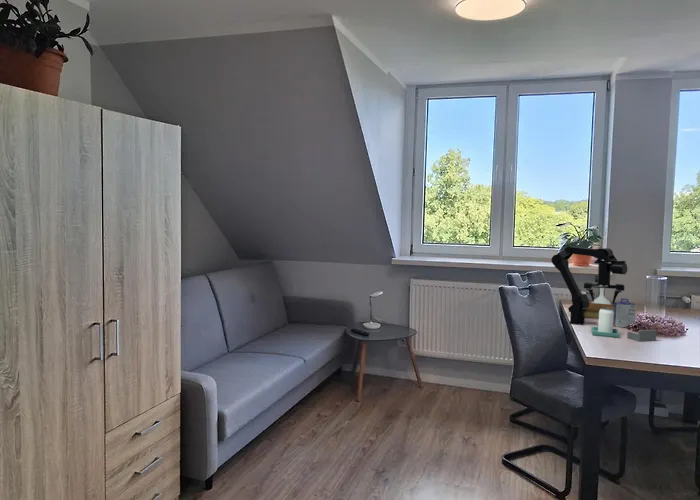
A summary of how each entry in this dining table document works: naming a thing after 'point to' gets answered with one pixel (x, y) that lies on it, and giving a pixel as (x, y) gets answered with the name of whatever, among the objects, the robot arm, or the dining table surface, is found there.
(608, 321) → the can
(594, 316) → the diary
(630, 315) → the ink cartridge box
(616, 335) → the tray
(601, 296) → the flower in vase
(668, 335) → the dining table surface
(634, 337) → the bay
